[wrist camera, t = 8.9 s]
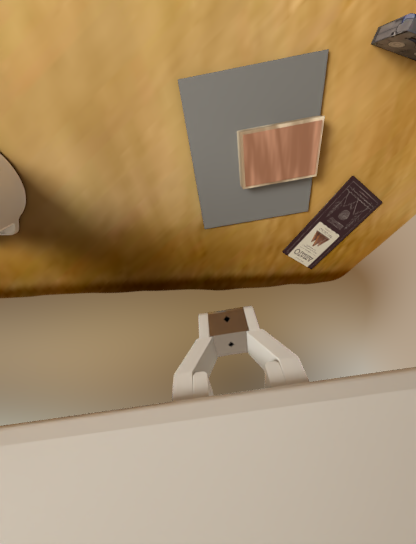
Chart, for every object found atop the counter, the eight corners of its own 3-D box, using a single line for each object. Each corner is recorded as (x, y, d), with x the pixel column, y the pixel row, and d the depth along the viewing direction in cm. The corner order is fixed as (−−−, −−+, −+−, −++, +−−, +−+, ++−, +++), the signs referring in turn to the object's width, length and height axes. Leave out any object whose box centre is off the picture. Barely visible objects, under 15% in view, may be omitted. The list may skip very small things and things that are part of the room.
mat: (204, 227, 42) (204, 229, 42) (177, 80, 29) (177, 79, 29) (306, 209, 42) (307, 211, 41) (326, 50, 29) (328, 49, 28)
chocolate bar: (382, 202, 41) (311, 269, 50) (379, 200, 42) (309, 266, 51) (354, 176, 38) (283, 252, 47) (351, 175, 39) (281, 250, 47)
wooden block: (243, 189, 35) (317, 176, 35) (240, 132, 30) (325, 116, 30) (240, 185, 37) (309, 172, 37) (236, 130, 33) (316, 115, 32)
